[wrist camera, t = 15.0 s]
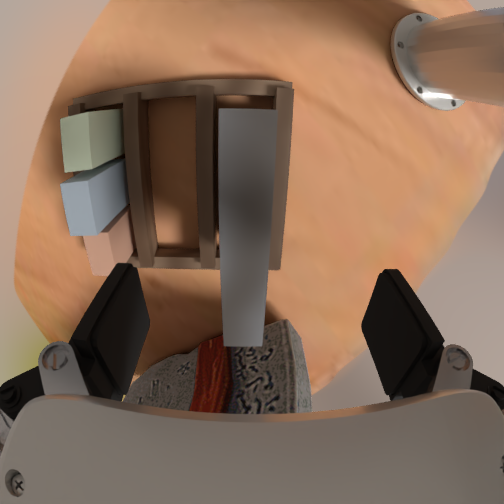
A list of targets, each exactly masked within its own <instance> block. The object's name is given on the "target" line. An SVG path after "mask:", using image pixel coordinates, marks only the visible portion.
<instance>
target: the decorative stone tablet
mask: <svg viewBox="0 0 504 504" xmlns="http://www.w3.org/2000/svg"><path fill="white" fill-rule="evenodd" d="M123 402H127V403H132V404H138V405H145V406H152V407H159V408H166V409H174V410H183V411H193V412H206V413H223V414H289V413H306V412H312V400H311V385H310V380H309V375H308V370H307V365H306V359H305V354H304V349H303V344H302V340H301V337H300V336H299V334H298V333H297V331H296V330H295V329H294V327H293V326H292V324H291V323H290V322H289V320H288V319H285V320H279V321H277V322H274V323H271V324H268V325H265V326H264V331H263V343H262V346H255V347H240V346H224V339H223V335H221V336H219V337H216V338H213V339H210V340H207V341H205V342H202V343H200V345H199V347H198V348H196V349H194V350H193V351H192V352H190V353H189V354H176V355H173V356H171V357H168V358H166V359H164V360H162V361H160V362H158V363H156V364H154V365H152V366H150V367H149V368H148V369H147V370H146V371H145V372H144V373H143V374H142V375H141V376H140V377H139V378H138V379H136V380H135V381H134V382H133V383H132V384H131V386H130V388H129V391H128V393H127V395H126V396H125V398H124V400H123Z"/></svg>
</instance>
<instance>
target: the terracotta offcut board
mask: <svg viewBox="0 0 504 504" xmlns="http://www.w3.org/2000/svg"><path fill="white" fill-rule="evenodd" d="M83 239H84V243H85V247H86V251H87V255H88V259H89V262H90V266H91V270H92V273H93V275H98V276H109V274H110V273H111V271H112V270H113V268H114V267H115V265H116V264H117V263H126V262H127V261H128V259H129V258H130V256H131V254H132V253H133V251H134V250H135V248H136V247H137V246H136V241H135V235H134V228H133V221H132V214H131V207H130V206H125V207H124V208H123V209H122V210H121V211H120V212H119V213H118V214H117V215H116V216H115V217H114V219H113V220H112V221H111V222H110V223H109V224H108V225H107V226H106V227H105V228H104V229H103V230H102V231H101V232H100V233H99V234H98V235H96V236H83Z"/></svg>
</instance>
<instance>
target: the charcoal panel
mask: <svg viewBox="0 0 504 504" xmlns="http://www.w3.org/2000/svg"><path fill="white" fill-rule="evenodd" d="M277 119H278V110H270V109H241V108H219V142H218V178H219V241H220V274H221V299H222V321H223V339H224V346H240V347H255V346H262V343H263V331H264V319H265V307H266V294H267V281H268V268H269V254H270V239H271V225H272V209H273V193H274V176H275V158H276V139H277Z"/></svg>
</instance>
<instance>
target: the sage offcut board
mask: <svg viewBox="0 0 504 504" xmlns="http://www.w3.org/2000/svg"><path fill="white" fill-rule="evenodd" d="M60 128H61V142H62V153H63V162H64V170H65V173H67V172H74V171H82V170H90V169H94V168H96V167H98V166H99V165H101V164H103V163H105V162H107V161H109V160H111V159H114V158H116V157H118V156H120V155H122V154H124V153H125V144H124V122H123V109H112V110H101V111H92V112H86V113H81V114H77V115H73V116H69V117H65V118H61V119H60Z"/></svg>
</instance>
